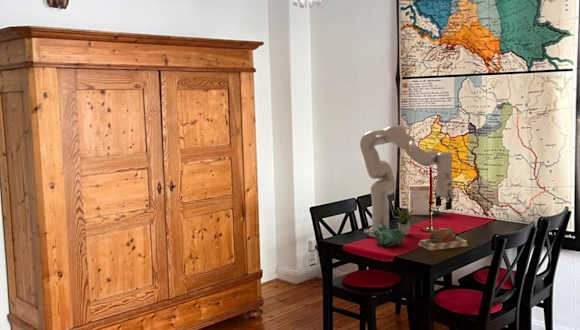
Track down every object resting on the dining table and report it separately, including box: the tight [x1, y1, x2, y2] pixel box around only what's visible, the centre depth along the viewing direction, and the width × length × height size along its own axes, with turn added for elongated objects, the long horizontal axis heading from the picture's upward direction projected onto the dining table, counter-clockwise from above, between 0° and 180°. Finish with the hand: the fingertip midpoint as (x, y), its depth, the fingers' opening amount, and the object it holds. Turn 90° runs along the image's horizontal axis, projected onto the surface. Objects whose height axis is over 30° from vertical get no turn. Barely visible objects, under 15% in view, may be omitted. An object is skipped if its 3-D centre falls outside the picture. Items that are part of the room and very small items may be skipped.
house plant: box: [394, 205, 416, 236], centre depth 340 cm, size 14×14×16 cm
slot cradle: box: [417, 236, 469, 251], centre depth 316 cm, size 23×12×3 cm, turn 109°
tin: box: [429, 227, 457, 244], centre depth 316 cm, size 15×3×8 cm, turn 108°
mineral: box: [373, 224, 405, 247], centre depth 319 cm, size 18×16×10 cm
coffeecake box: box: [408, 183, 434, 216], centre depth 391 cm, size 15×7×20 cm, turn 84°
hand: (443, 207), depth 314 cm, fingers open, 9 cm apart
